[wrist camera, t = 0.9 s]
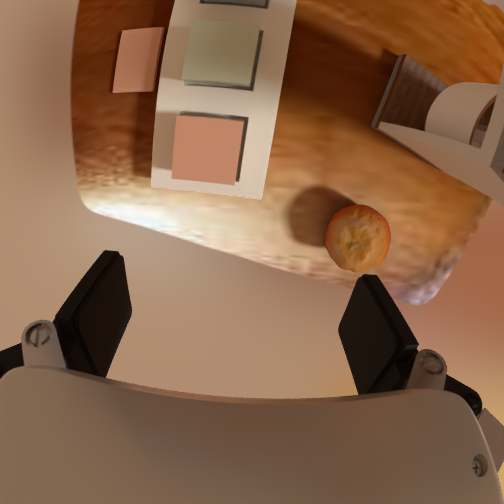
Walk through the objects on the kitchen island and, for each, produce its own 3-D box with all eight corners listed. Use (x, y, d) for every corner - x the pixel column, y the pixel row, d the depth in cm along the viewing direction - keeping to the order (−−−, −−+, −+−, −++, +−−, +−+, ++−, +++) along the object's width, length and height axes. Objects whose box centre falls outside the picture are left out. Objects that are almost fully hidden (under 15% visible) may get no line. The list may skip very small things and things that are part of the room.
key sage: (198, 29, 20) (192, 20, 17) (258, 34, 20) (260, 25, 17) (188, 82, 23) (181, 79, 20) (249, 87, 23) (249, 84, 20)
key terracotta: (184, 114, 24) (176, 115, 21) (244, 120, 25) (243, 121, 22) (179, 170, 27) (171, 178, 24) (235, 177, 28) (234, 185, 25)
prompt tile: (125, 32, 21) (122, 30, 20) (164, 28, 21) (162, 26, 21) (115, 92, 25) (112, 92, 24) (154, 91, 25) (152, 91, 24)
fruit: (379, 263, 35) (372, 290, 29) (329, 241, 38) (311, 263, 32) (400, 209, 31) (400, 226, 25) (345, 188, 34) (331, 199, 28)
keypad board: (195, -39, 16) (190, -51, 13) (298, -30, 17) (303, -41, 14) (159, 179, 30) (151, 187, 28) (260, 190, 31) (261, 199, 29)
